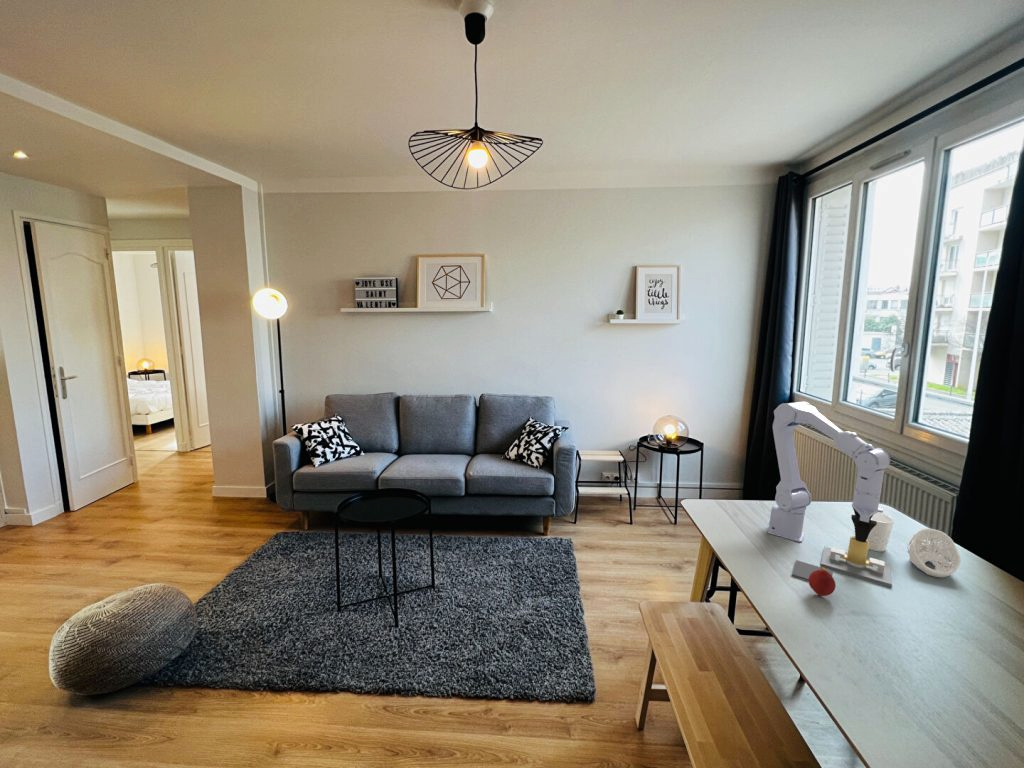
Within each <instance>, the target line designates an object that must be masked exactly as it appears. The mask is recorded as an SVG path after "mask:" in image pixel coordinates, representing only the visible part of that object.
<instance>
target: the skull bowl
mask: <svg viewBox="0 0 1024 768" xmlns="http://www.w3.org/2000/svg"><path fill="white" fill-rule="evenodd" d="M906 548H907V551H906V552H907V553H908V556H909V560H910V562H911V563H912V564H914V565H915V567H917V568H918V569H920V570H921V572H924V573H925V574H926V575H928V576H932V577H935V578H945V577H950V576H951V575H953V574H954V573H955V572H956V571H957V570H958V568H959V567H960V564H961V555H960V552H959V551H958V549H957V547H956V545H955V543H954V540H953V539H952V538H951V537H950V536H949V535H948V534H947V533H945V532H943V531H941V530H938V529H934V528H922V529H919V530H918V531H917V532H916V533H914V534H913V536H912V538H911V539H910V540H909V541H908V543H907V547H906ZM926 562H930V563H932V565H933V567H934V569H933V568H930V567H928V566H927V565H926Z"/></svg>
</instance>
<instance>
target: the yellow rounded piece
mask: <svg viewBox="0 0 1024 768" xmlns="http://www.w3.org/2000/svg"><path fill="white" fill-rule="evenodd" d="M868 547H869V541H868V540H866V542H865V543H864V542H860V541H856V539H855V535H854V536H850V537H849V543H848V549H847V553H848V555H844V557H843V556H840V558H843V559H846V560H848V561H850V562H851V563H854V564H857V565H868V566H871V567H873V565H872V564H869V561H867V560H866V559H867V558H868V553H869V549H868Z"/></svg>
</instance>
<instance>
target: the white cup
mask: <svg viewBox="0 0 1024 768" xmlns="http://www.w3.org/2000/svg"><path fill="white" fill-rule="evenodd" d="M870 520H872V521H877V524H876V526H875V527H874V528H873V529H872V530H871V531H870V533H869V535H868V538H867V540H868V541H869V547H868V550H871V551H873V552H874V551H876V552H886V550H887V547H888V543H889V540H890V538H891V533H892V529H893V525H894V518H892V517H891V516H889V515H887V514H885V513H880V512H877V513H876V514H874V515H873V516H872V518H871V519H870Z"/></svg>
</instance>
